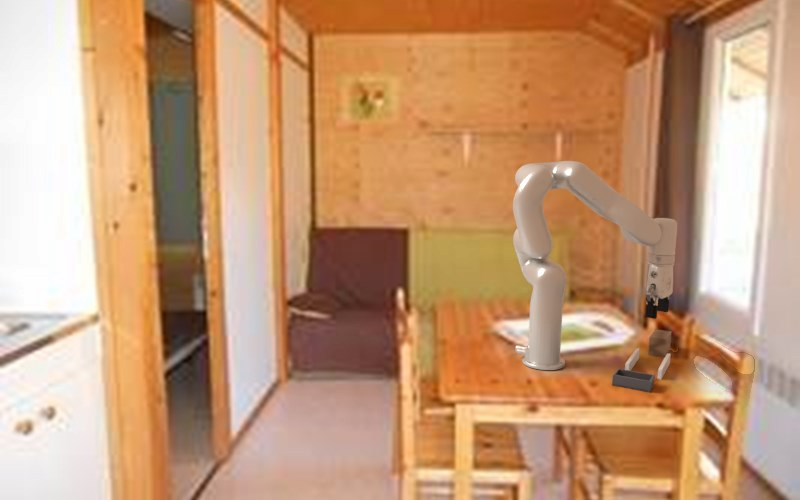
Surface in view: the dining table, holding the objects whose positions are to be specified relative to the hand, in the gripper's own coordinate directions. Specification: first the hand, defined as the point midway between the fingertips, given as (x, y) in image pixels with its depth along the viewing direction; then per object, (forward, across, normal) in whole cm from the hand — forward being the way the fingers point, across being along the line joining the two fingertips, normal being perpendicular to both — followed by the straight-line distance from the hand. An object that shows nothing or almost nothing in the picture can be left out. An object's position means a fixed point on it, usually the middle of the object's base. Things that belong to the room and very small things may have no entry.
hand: (656, 314), depth 200 cm
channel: (+14, -9, -2) cm, 17 cm away
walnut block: (+15, +9, +1) cm, 17 cm away
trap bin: (+14, -25, -4) cm, 29 cm away
